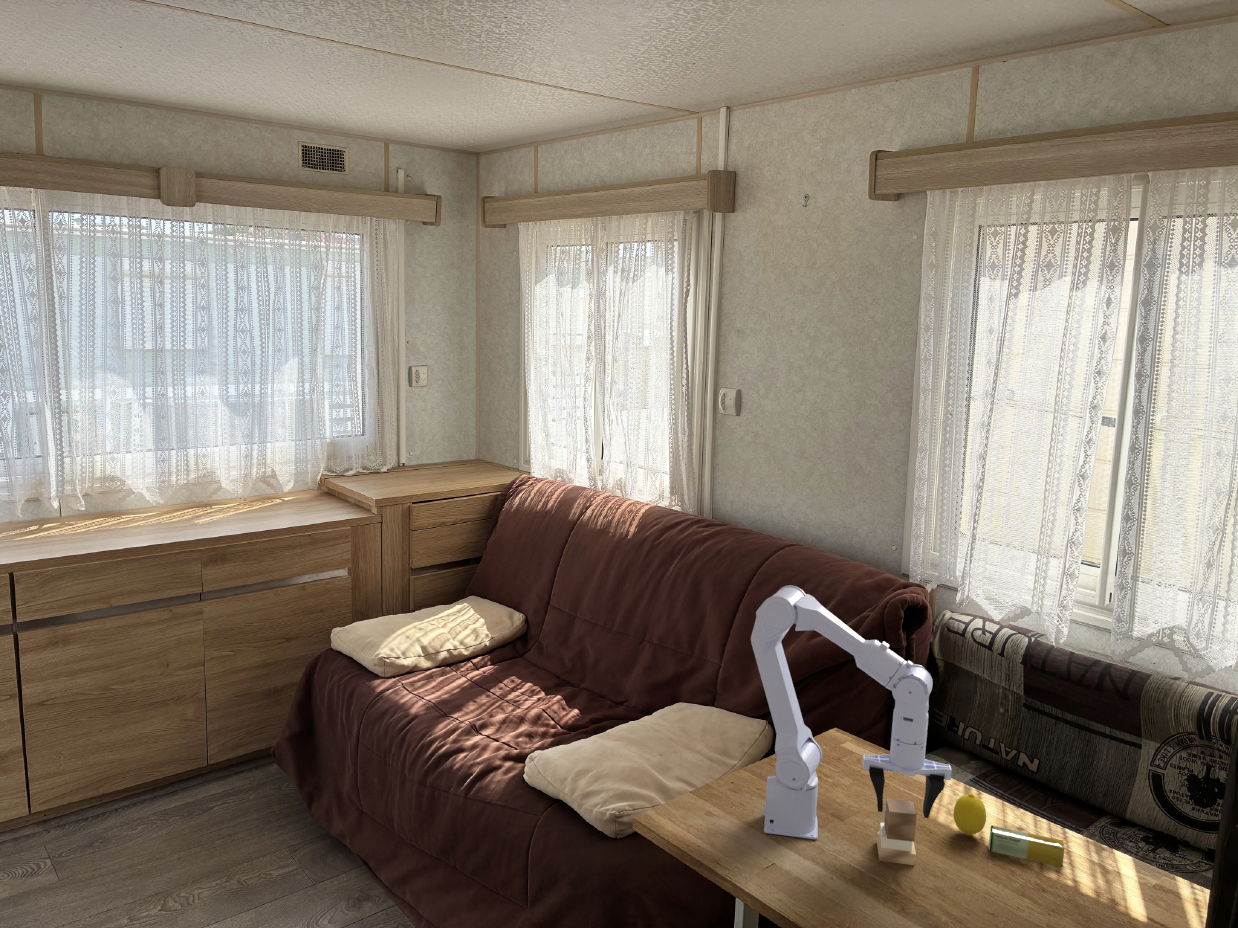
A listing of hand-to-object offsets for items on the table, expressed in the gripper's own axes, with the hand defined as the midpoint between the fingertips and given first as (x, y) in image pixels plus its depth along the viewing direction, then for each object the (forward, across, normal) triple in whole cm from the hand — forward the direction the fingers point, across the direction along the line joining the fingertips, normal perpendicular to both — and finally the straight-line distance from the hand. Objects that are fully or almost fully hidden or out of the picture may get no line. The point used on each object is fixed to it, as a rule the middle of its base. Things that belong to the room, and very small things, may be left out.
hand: (902, 811), depth 160 cm
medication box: (+8, +22, +6) cm, 24 cm away
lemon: (+8, +13, +10) cm, 18 cm away
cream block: (+6, -1, 0) cm, 6 cm away
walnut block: (+4, 0, 0) cm, 4 cm away
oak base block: (+8, -1, 0) cm, 8 cm away
